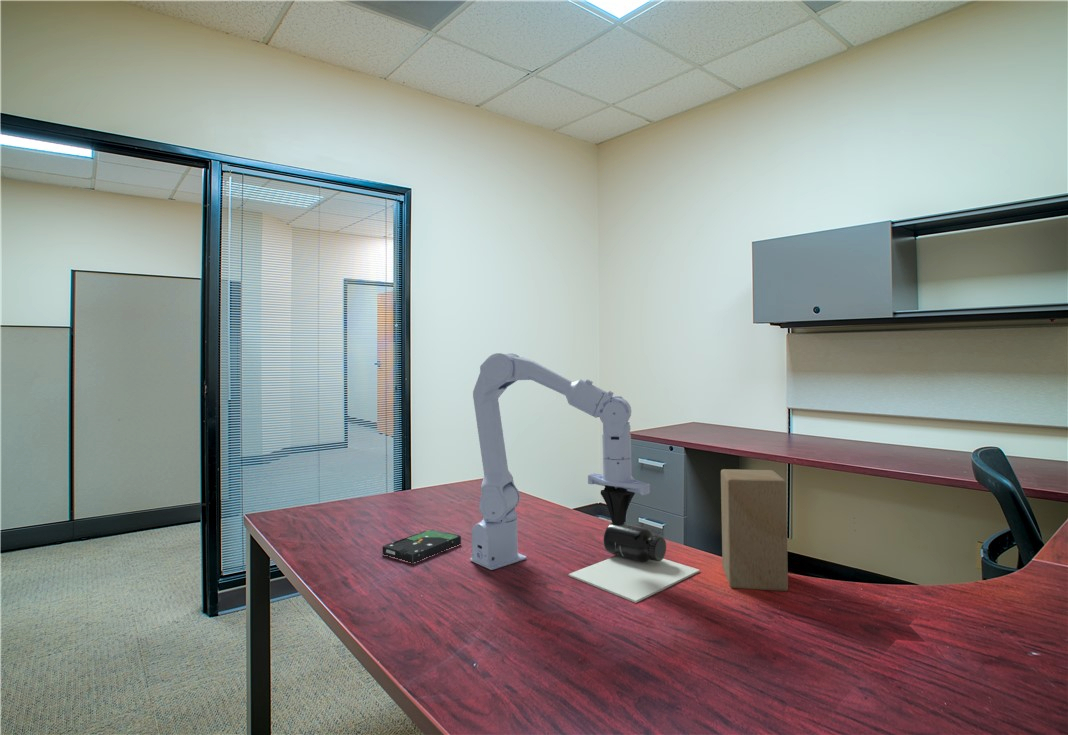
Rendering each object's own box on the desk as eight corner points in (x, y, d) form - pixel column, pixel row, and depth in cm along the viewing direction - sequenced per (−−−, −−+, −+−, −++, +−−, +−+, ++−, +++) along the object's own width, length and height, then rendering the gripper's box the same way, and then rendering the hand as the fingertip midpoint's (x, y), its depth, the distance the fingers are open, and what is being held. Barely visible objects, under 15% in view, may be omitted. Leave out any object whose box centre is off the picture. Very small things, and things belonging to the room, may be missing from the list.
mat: (635, 602, 94) (635, 600, 94) (568, 576, 106) (568, 573, 106) (699, 571, 107) (699, 569, 107) (633, 551, 119) (633, 549, 119)
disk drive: (413, 568, 114) (462, 546, 126) (413, 554, 114) (461, 534, 126) (381, 558, 120) (430, 538, 132) (381, 545, 120) (430, 527, 132)
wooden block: (788, 592, 97) (786, 480, 97) (729, 588, 99) (727, 479, 99) (775, 571, 106) (773, 469, 106) (722, 568, 108) (720, 468, 108)
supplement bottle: (599, 549, 114) (648, 562, 106) (607, 517, 116) (655, 528, 108) (616, 556, 119) (665, 569, 110) (623, 525, 121) (672, 536, 112)
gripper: (658, 458, 106) (660, 527, 106) (603, 451, 117) (604, 513, 117) (636, 463, 102) (637, 536, 102) (580, 455, 113) (581, 520, 113)
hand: (618, 524), depth 109 cm, fingers closed
